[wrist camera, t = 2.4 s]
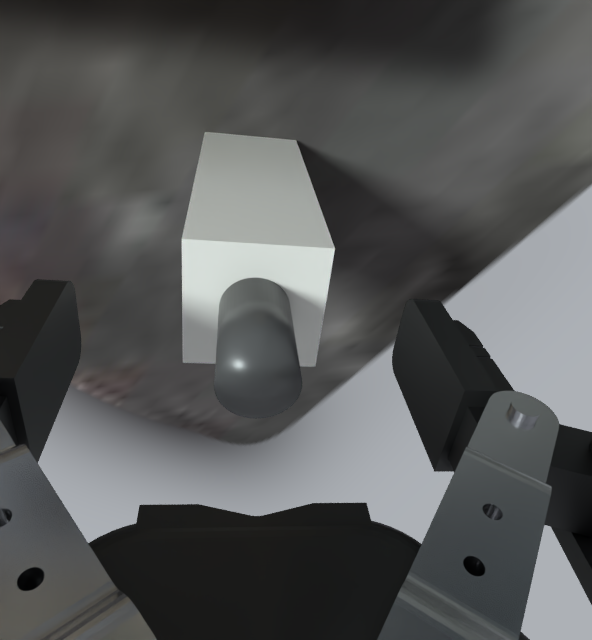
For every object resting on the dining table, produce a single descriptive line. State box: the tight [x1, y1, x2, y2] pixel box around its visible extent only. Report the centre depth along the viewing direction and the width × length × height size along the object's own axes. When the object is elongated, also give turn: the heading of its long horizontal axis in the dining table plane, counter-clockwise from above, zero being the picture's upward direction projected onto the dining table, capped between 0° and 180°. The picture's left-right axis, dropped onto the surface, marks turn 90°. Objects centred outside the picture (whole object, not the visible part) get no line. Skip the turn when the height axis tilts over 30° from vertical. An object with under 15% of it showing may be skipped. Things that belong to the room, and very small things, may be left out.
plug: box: [182, 132, 335, 418], centre depth 16 cm, size 4×4×13 cm
